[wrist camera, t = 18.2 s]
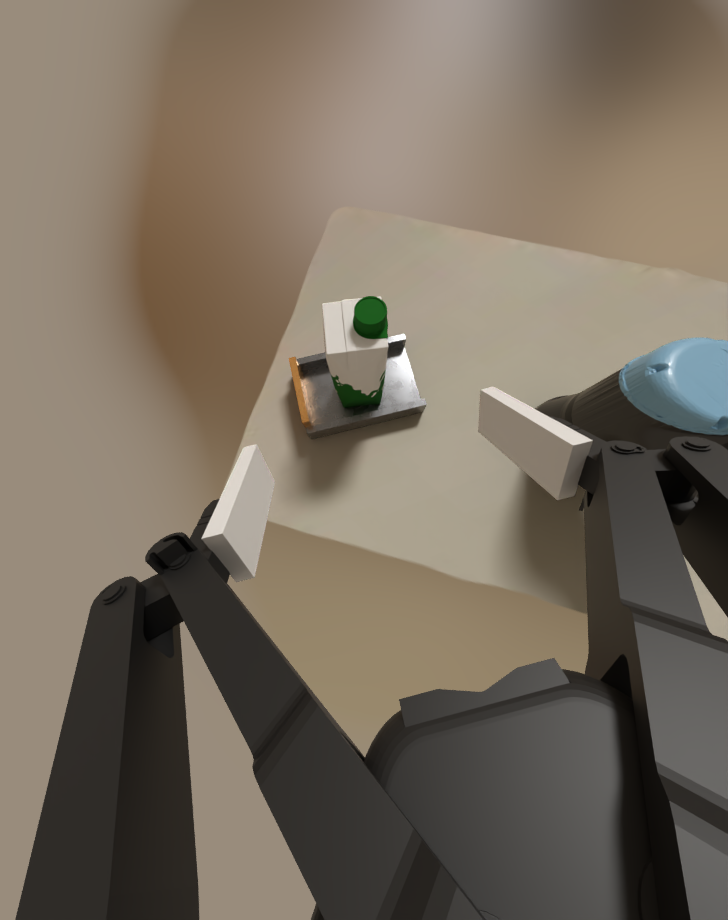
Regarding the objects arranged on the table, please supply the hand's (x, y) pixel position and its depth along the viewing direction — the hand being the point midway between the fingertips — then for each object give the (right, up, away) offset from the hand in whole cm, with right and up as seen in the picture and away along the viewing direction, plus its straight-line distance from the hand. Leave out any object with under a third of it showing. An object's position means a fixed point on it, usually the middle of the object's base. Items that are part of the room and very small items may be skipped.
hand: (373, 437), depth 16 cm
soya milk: (-1, +12, +36) cm, 38 cm away
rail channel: (-2, +12, +37) cm, 39 cm away
